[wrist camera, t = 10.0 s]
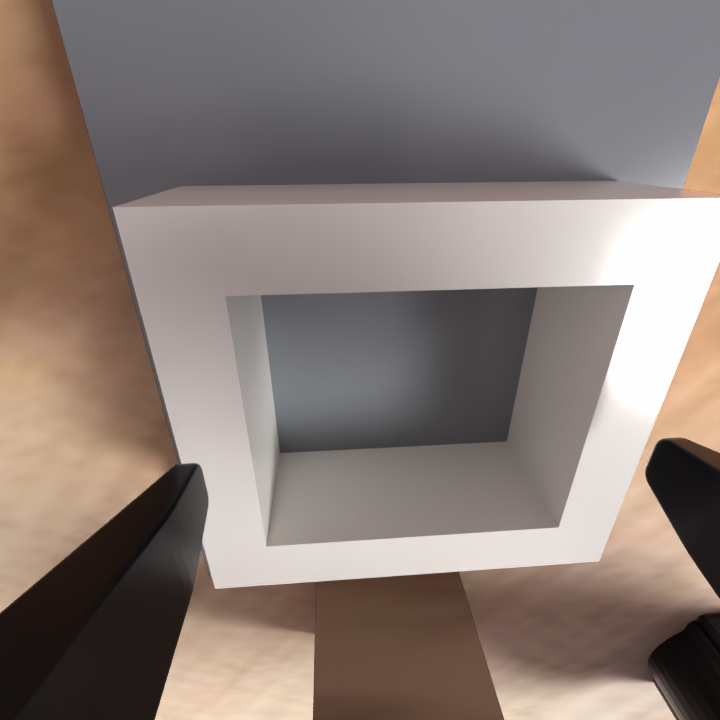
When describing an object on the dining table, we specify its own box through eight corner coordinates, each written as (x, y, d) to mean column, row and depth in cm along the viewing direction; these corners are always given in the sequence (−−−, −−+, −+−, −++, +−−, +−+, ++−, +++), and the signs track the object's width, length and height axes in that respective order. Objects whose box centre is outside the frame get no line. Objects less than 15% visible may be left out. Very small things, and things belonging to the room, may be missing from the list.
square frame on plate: (550, 530, 18) (616, 642, 14) (214, 551, 17) (180, 679, 13) (719, -32, 9) (1017, -163, 5) (64, -46, 8) (-175, -216, 4)
